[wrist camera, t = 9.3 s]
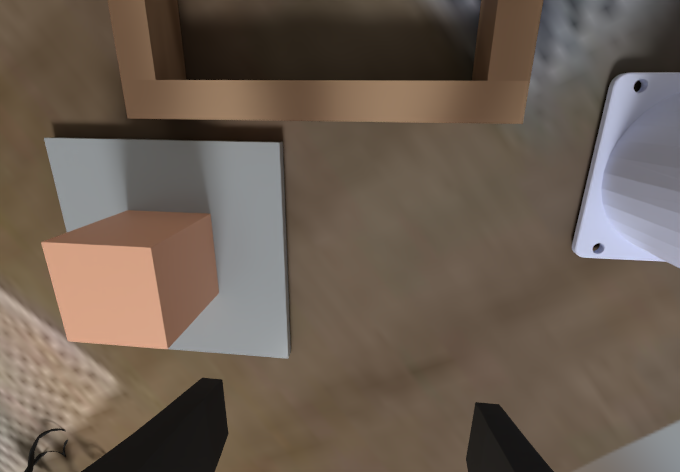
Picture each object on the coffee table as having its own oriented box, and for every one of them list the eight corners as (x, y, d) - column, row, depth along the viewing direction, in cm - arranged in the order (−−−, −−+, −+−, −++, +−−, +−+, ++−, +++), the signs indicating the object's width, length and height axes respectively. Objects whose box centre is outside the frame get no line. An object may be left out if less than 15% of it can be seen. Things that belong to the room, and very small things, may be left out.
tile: (282, 141, 17) (279, 142, 17) (290, 352, 21) (288, 358, 20) (54, 137, 18) (44, 137, 18) (101, 337, 22) (93, 343, 22)
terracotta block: (210, 213, 18) (150, 247, 13) (219, 293, 19) (167, 349, 15) (127, 210, 18) (41, 242, 14) (141, 288, 20) (68, 341, 15)
